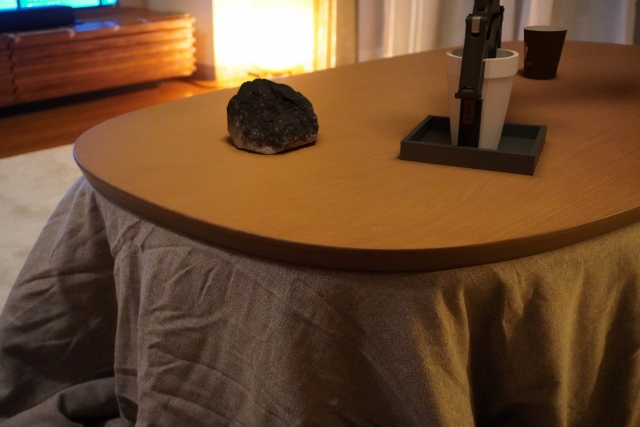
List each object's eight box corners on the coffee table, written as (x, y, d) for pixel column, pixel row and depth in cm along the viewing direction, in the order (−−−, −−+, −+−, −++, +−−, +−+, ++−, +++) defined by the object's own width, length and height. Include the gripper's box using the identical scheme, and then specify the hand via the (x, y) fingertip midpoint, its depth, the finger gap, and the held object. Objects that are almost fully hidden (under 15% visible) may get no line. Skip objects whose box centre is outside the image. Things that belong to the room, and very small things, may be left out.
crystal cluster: (331, 153, 90) (333, 84, 87) (239, 157, 86) (239, 84, 83) (302, 136, 102) (303, 74, 99) (220, 138, 98) (219, 74, 95)
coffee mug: (556, 82, 127) (563, 31, 123) (514, 78, 131) (519, 29, 127) (567, 71, 136) (573, 24, 132) (526, 68, 140) (532, 23, 136)
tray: (545, 142, 91) (547, 125, 90) (532, 175, 79) (535, 155, 78) (427, 130, 98) (428, 114, 96) (399, 159, 85) (400, 141, 84)
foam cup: (490, 134, 93) (498, 46, 88) (521, 153, 85) (532, 56, 79) (430, 140, 91) (435, 49, 86) (456, 159, 83) (463, 61, 78)
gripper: (477, -39, 89) (465, 114, 98) (439, -31, 70) (428, 156, 79) (532, -39, 86) (514, 118, 95) (507, -31, 67) (488, 163, 77)
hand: (475, 136), depth 87 cm, fingers closed on foam cup, 9 cm apart
